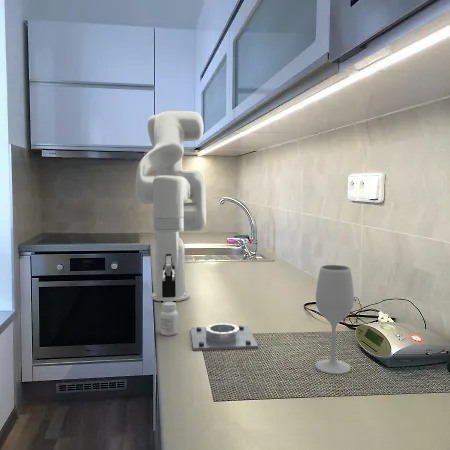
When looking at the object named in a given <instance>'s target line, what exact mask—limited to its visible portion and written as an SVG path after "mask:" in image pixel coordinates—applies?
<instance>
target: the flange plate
mask: <svg viewBox="0 0 450 450" xmlns="http://www.w3.org/2000/svg"><path fill="white" fill-rule="evenodd" d="M237 326H238V327H239V338H238V339H236V340H233V341H229V342H217V341H211V340H209V339H207V338H206V327H207V326H203V327H200V326H199V327H190V333H191V341H192V351H218V350H219V351H220V350H221V351H222V350H223V349H225V350H245V349H249V350H250V349H258V348H259V345H258V343H257V341H256V339H255V336H254V335H253V333H252V331H251V329H250V327H249V326H248V325H237ZM239 348H241V349H239ZM242 348H243V349H242Z"/></svg>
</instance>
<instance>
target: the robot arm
mask: <svg viewBox="0 0 450 450" xmlns="http://www.w3.org/2000/svg"><path fill="white" fill-rule="evenodd" d="M203 120H204V119H203V117H202V115H201V114H200V113H199V112H197V111H188V110H186V111H183V110H181V111H180V110H166V111H163V112H160V113H159V114H154V115H151V116H150V117H148V119H147V132H148V137H149V140H150V144H151V146H152V149H151V150H150V151H147V153H146V154H145V155H144V156H143V157H142V158H141V160H140V161H139V162H138V165H137V168H136V177H135V196H136V199H137V200H138V202H139V203H141V204H143V205H152V208H153V209H152V212H151V213H152V215H151V218H152V223H153V225H152V226H153V227H152V228H153V232H154V242H155V243H154V245H155V247H154V248H155V292H152V293H151V295H150V297H151V298H150V299H152V300H153V301H156V302H161V301H163V302H162V303H165V302H173V301H176V302H183V301H187V300H188V299H190V293H189V291H186V287H185V284H186V283H185V282H186V281H185V280H186V275H185V274H186V271H185V270H186V269H185V268H186V267H185V266H186V264H185V261H186V259H185V253H186V251H185V243H184V241H183V239H182V238H181V237H180V232H200V231H203V230H204V229H205V227H206V224H207V203H206V201H207V200H206V199H207V196H206V191H207V190H206V179H205V177H204V174H203V173H202V172H201V170H197V169H183V157H184V153H185V152H184V151H185V150H184V149H185V147H184V142H198V141H200V140H201V139H202V137H203V135H204V128H205V127H204V121H203ZM155 172H156V175H152V174H153V173H155ZM188 200H190V201H191V202H187V201H188ZM182 300H183V301H182Z"/></svg>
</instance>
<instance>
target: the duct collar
mask: <svg viewBox="0 0 450 450" xmlns="http://www.w3.org/2000/svg"><path fill="white" fill-rule="evenodd" d="M238 326H239V325H236V324H234V323H225V322H221V323H212V324H209V325H208V326H205V327H206V338H207V339H209V340H211V341H217V342H229V341H233V340H236V339H238V338H239V327H238Z"/></svg>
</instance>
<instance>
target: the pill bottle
mask: <svg viewBox="0 0 450 450" xmlns="http://www.w3.org/2000/svg"><path fill="white" fill-rule="evenodd" d="M178 333H179V312H178V311H177V303H176V302H162V311H161V312H160V334H161V335H162V336H175V335H177V334H178Z"/></svg>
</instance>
